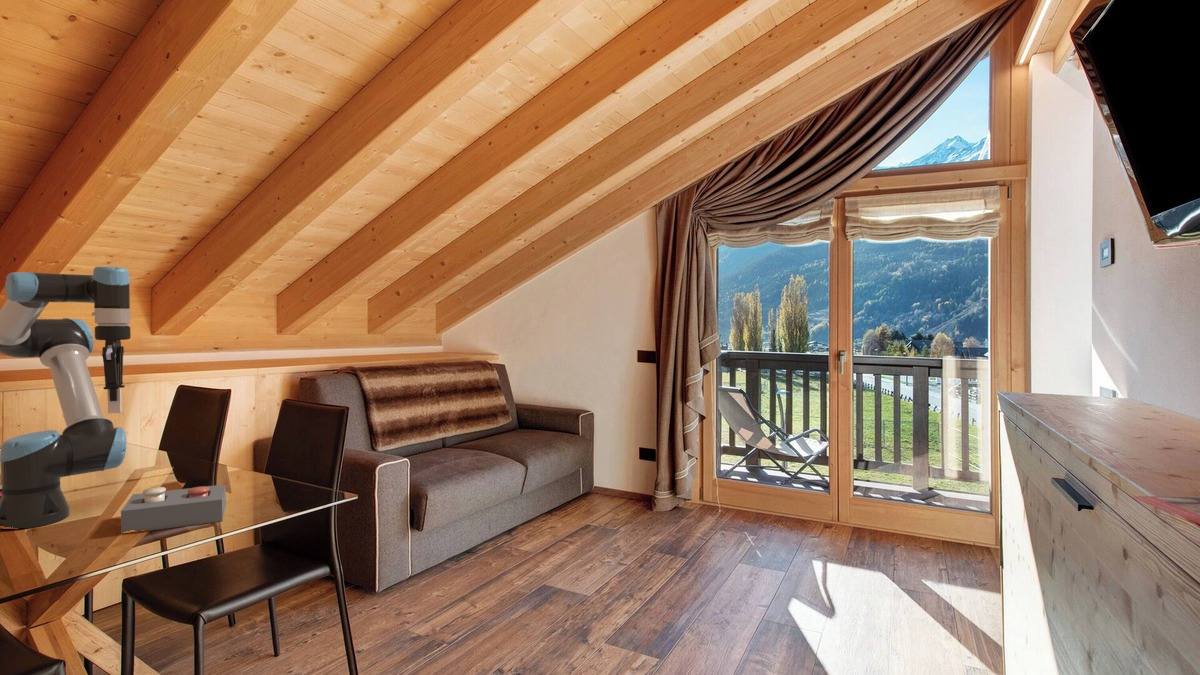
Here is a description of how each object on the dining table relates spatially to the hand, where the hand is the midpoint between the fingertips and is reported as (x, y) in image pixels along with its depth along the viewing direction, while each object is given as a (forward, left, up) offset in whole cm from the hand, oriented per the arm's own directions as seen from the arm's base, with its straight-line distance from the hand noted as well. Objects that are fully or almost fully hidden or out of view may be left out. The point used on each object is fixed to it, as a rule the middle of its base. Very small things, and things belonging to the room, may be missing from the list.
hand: (114, 412), depth 166 cm
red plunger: (+5, +19, -29) cm, 35 cm away
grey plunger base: (+5, +14, -29) cm, 33 cm away
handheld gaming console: (-15, +14, -30) cm, 36 cm away
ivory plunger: (+5, +9, -28) cm, 29 cm away
